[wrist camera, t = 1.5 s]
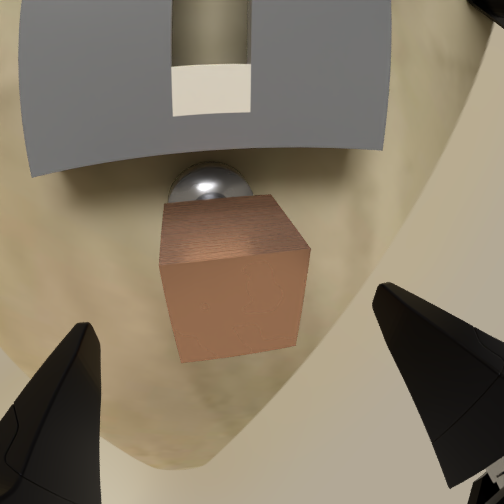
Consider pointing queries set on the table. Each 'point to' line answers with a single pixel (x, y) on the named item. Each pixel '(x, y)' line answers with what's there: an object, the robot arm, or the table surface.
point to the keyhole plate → (198, 81)
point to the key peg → (229, 266)
